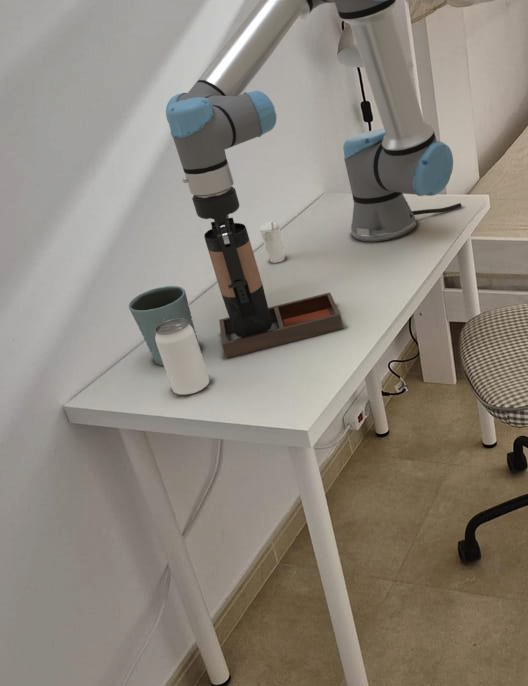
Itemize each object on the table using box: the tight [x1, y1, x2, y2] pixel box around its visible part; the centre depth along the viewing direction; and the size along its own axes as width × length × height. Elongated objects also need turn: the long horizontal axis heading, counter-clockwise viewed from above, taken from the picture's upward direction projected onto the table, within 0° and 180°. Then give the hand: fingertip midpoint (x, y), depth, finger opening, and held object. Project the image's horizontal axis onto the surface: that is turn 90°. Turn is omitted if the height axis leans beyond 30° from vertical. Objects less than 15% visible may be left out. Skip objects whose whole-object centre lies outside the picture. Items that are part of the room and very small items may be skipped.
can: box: [155, 318, 210, 396], centre depth 149 cm, size 6×6×12 cm
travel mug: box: [203, 222, 273, 338], centre depth 160 cm, size 8×8×20 cm
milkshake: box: [258, 220, 286, 264], centre depth 197 cm, size 5×5×10 cm
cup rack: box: [218, 291, 344, 359], centre depth 166 cm, size 11×22×3 cm, turn 107°
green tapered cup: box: [128, 285, 201, 367], centre depth 161 cm, size 10×10×12 cm
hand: (247, 307), depth 163 cm, fingers closed on travel mug, 8 cm apart
